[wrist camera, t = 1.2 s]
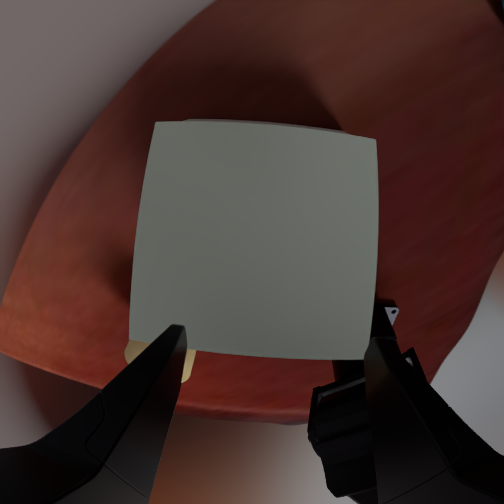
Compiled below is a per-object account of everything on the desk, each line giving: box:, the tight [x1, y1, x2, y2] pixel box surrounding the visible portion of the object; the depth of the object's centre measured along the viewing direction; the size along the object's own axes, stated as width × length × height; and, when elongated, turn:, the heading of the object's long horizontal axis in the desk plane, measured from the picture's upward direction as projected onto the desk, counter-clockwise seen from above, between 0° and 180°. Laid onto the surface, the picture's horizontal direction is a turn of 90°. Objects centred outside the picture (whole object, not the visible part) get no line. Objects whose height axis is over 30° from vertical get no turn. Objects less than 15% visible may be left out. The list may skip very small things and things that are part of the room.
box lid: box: [129, 121, 378, 360], centre depth 13 cm, size 10×11×1 cm
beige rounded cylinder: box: [125, 340, 196, 383], centre depth 24 cm, size 6×6×6 cm
